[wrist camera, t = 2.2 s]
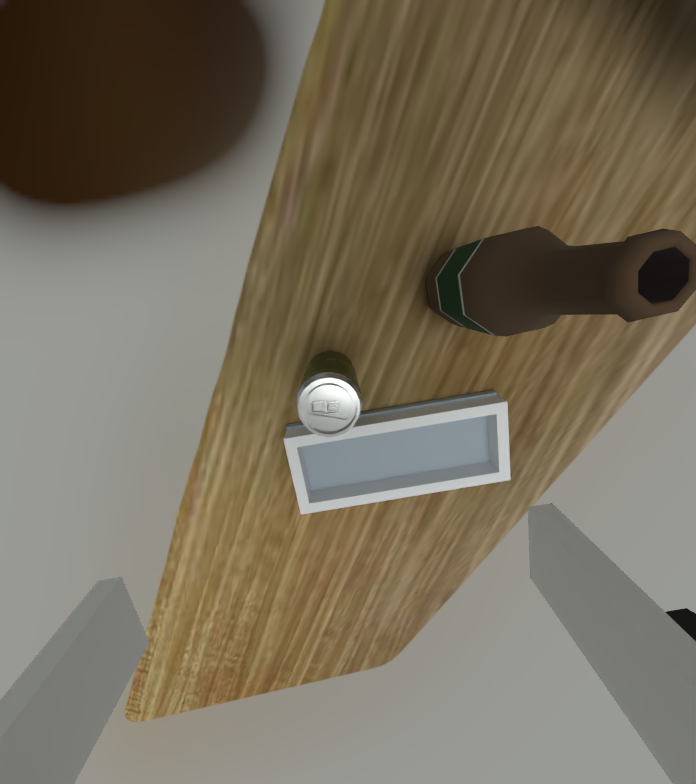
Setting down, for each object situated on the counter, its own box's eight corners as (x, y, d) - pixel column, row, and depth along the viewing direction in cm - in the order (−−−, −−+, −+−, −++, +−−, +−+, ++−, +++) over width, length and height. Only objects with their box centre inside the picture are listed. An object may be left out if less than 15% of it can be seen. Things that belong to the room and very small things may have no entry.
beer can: (306, 396, 40) (294, 439, 28) (306, 349, 38) (294, 373, 27) (353, 397, 40) (361, 440, 28) (355, 350, 38) (365, 375, 27)
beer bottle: (504, 254, 36) (804, 187, 13) (484, 329, 38) (712, 385, 15) (432, 240, 36) (612, 143, 12) (415, 317, 38) (543, 356, 15)
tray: (287, 424, 40) (282, 436, 37) (492, 389, 40) (507, 398, 37) (304, 499, 43) (301, 516, 40) (496, 467, 43) (510, 482, 40)
